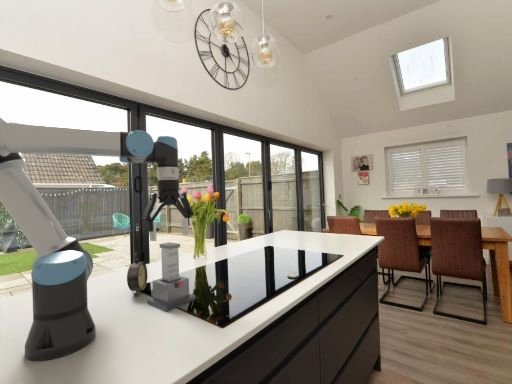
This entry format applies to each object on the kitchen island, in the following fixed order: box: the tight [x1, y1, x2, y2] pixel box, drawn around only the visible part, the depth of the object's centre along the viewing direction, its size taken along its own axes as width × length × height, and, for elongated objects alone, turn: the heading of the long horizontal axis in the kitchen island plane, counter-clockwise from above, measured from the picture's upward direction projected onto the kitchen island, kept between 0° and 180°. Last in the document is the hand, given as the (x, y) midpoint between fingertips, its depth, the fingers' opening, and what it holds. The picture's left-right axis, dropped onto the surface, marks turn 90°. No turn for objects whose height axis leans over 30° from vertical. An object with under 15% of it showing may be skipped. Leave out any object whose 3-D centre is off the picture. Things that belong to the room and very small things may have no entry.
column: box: [159, 242, 181, 283], centre depth 96 cm, size 4×6×19 cm
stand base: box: [146, 275, 196, 313], centre depth 96 cm, size 12×12×8 cm
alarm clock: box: [126, 251, 148, 297], centre depth 106 cm, size 11×5×16 cm, turn 5°
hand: (170, 237), depth 96 cm, fingers open, 13 cm apart
